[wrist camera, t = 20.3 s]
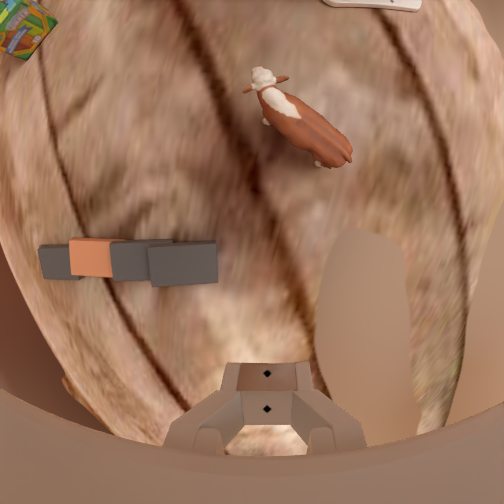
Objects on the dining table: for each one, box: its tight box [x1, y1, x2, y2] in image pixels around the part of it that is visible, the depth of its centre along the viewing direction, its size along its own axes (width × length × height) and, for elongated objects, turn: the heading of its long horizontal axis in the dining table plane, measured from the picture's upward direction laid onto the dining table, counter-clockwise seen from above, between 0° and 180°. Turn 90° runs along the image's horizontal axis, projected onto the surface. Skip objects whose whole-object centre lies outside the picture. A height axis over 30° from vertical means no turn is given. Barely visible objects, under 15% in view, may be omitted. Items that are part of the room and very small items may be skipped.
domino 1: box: [38, 245, 85, 280], centre depth 34 cm, size 2×5×8 cm
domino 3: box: [109, 239, 173, 281], centre depth 33 cm, size 2×5×8 cm
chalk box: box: [0, 0, 58, 60], centre depth 18 cm, size 9×9×15 cm
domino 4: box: [148, 241, 218, 287], centre depth 33 cm, size 2×5×8 cm
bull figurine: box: [243, 67, 353, 169], centre depth 26 cm, size 4×13×8 cm, turn 46°
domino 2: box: [69, 238, 125, 277], centre depth 33 cm, size 2×5×8 cm
